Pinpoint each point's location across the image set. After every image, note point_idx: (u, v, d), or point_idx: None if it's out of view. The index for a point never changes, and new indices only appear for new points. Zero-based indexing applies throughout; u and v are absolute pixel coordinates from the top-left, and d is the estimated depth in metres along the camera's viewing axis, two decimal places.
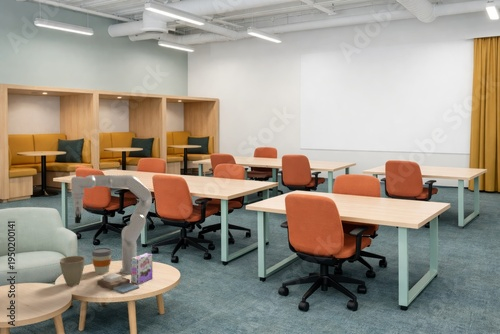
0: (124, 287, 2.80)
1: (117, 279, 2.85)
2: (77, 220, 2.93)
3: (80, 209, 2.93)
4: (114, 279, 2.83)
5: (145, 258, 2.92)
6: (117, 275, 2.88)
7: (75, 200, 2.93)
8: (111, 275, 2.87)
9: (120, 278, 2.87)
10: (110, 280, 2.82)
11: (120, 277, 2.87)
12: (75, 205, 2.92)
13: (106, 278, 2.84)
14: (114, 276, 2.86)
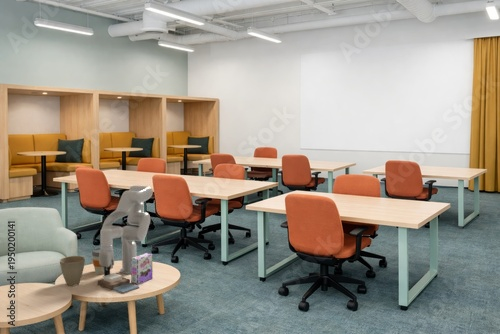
0: (124, 287, 2.80)
1: (117, 279, 2.85)
2: None
3: None
4: (114, 279, 2.83)
5: (145, 258, 2.92)
6: (117, 275, 2.88)
7: None
8: (111, 275, 2.87)
9: (120, 278, 2.87)
10: (110, 280, 2.82)
11: (120, 277, 2.87)
12: None
13: (106, 278, 2.84)
14: (114, 276, 2.86)
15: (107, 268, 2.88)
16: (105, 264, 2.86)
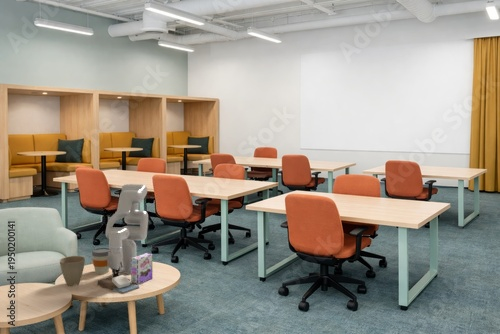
0: (124, 287, 2.80)
1: (125, 285, 2.80)
2: None
3: None
4: (122, 285, 2.78)
5: (145, 258, 2.92)
6: (126, 280, 2.82)
7: None
8: (120, 279, 2.81)
9: (128, 284, 2.82)
10: (118, 285, 2.77)
11: (128, 283, 2.81)
12: None
13: (115, 281, 2.79)
14: (123, 281, 2.80)
15: (116, 271, 2.83)
16: (114, 267, 2.81)
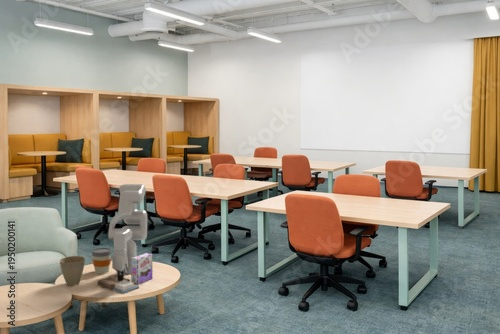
0: None
1: (129, 287, 2.78)
2: None
3: None
4: (126, 287, 2.76)
5: (145, 258, 2.92)
6: (129, 282, 2.81)
7: None
8: (123, 283, 2.80)
9: (132, 286, 2.80)
10: (122, 288, 2.75)
11: (132, 285, 2.80)
12: None
13: (118, 286, 2.77)
14: (126, 284, 2.79)
15: (121, 272, 2.80)
16: (119, 268, 2.78)
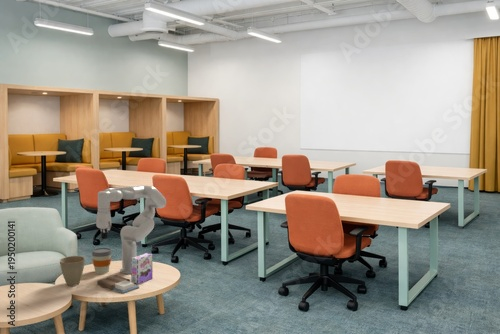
0: None
1: (129, 287, 2.78)
2: None
3: None
4: (126, 287, 2.76)
5: (145, 258, 2.92)
6: (129, 282, 2.81)
7: None
8: (123, 283, 2.80)
9: (132, 286, 2.80)
10: (122, 288, 2.75)
11: (132, 285, 2.80)
12: None
13: (118, 286, 2.77)
14: (126, 284, 2.79)
15: (104, 230, 2.92)
16: (102, 226, 2.90)
